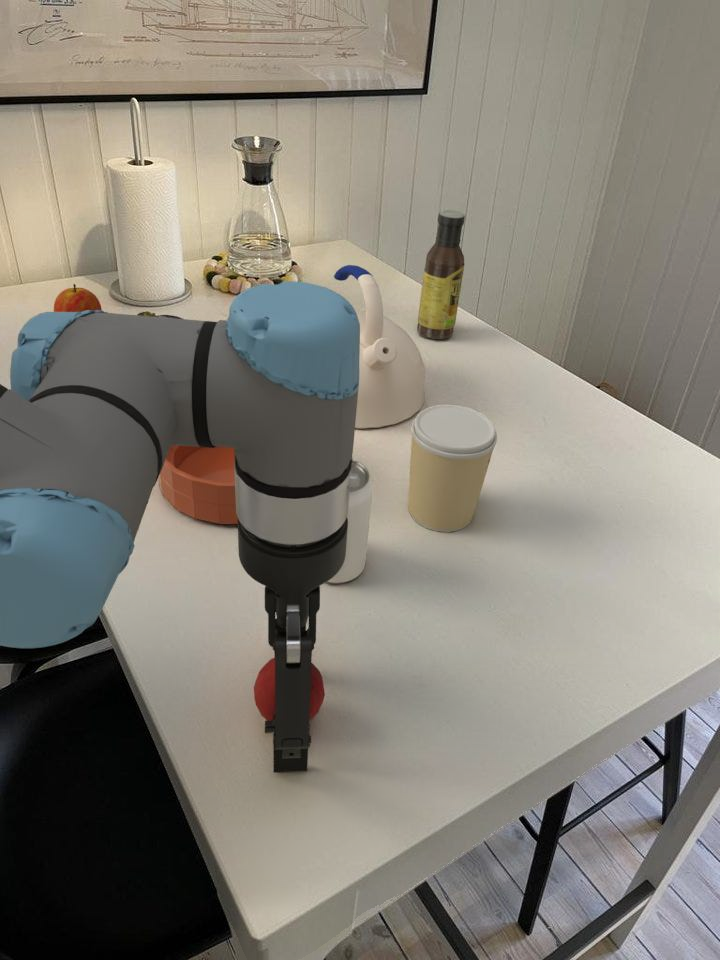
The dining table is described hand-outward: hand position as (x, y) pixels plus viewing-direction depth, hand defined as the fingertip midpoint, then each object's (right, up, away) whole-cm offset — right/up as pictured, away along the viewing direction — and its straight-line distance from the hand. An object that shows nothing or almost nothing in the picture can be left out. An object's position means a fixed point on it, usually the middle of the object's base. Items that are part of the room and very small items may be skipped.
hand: (289, 715), depth 64 cm
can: (+3, +11, +16) cm, 20 cm away
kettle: (+5, +33, +45) cm, 56 cm away
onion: (0, 0, 0) cm, 0 cm away
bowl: (-9, +20, +26) cm, 35 cm away
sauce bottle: (+19, +45, +62) cm, 79 cm away
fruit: (-38, +43, +54) cm, 79 cm away
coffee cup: (+15, +16, +24) cm, 33 cm away
